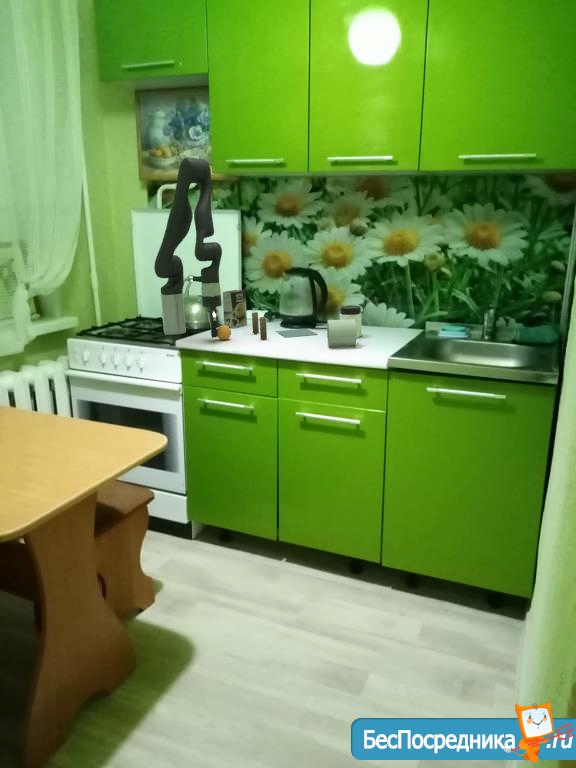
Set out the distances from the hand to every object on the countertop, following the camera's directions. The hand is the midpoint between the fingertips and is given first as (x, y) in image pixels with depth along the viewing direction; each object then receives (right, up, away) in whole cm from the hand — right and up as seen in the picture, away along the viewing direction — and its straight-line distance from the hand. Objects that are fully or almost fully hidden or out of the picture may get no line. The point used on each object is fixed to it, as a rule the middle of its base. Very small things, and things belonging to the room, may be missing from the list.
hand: (214, 337), depth 240 cm
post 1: (+16, +2, +13) cm, 21 cm away
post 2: (+20, -1, 0) cm, 20 cm away
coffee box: (+6, +7, +31) cm, 33 cm away
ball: (+4, +2, +2) cm, 4 cm away
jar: (+55, 0, +1) cm, 55 cm away
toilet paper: (+50, -5, -15) cm, 53 cm away
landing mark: (+33, +2, +11) cm, 35 cm away
